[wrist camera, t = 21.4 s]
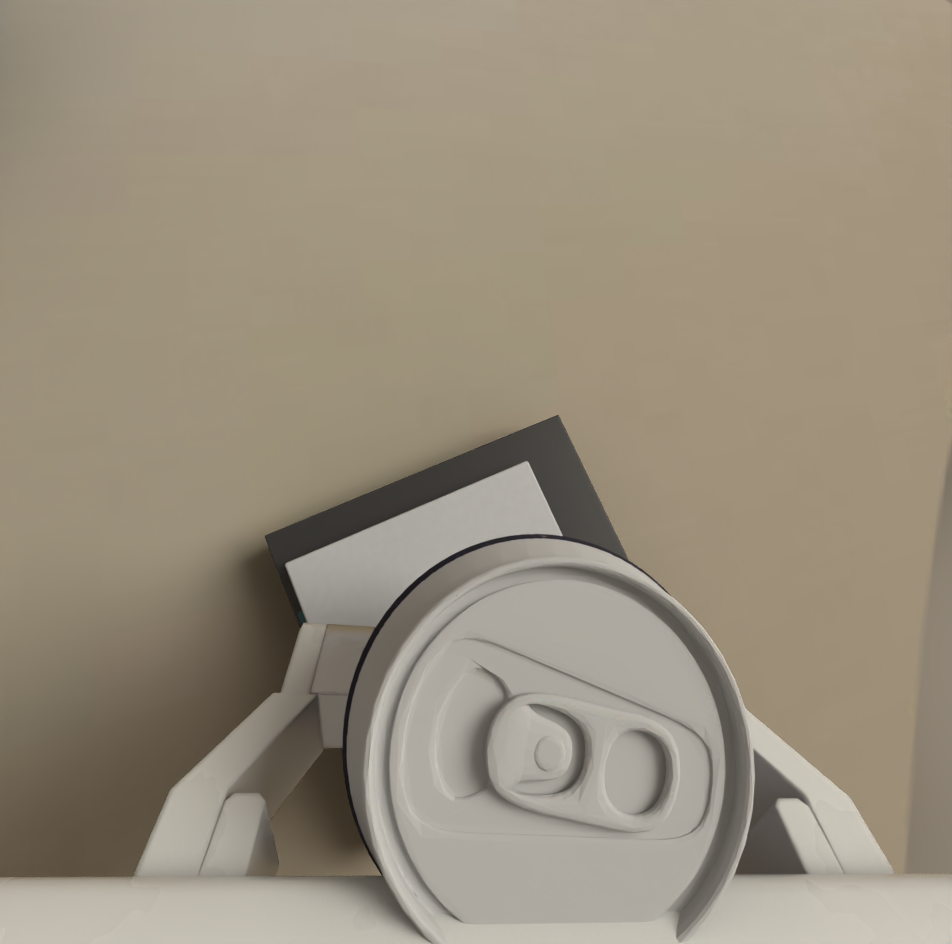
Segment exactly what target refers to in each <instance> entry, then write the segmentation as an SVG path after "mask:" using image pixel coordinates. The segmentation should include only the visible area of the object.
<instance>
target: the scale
mask: <svg viewBox="0 0 952 944" xmlns="http://www.w3.org/2000/svg"><path fill="white" fill-rule="evenodd" d="M521 534H549V535H558V536H565V537H570V538H575V539H579V540H583V541H586V542H589V543H593V544H595V545H598V546H600V547H603V548H605V549H608V550H610V551H612V552H614V553H616V554H618V555H620V556H622V557H623V558H625V559H627V560H628V558H627V555H626V553H625V551H624V549H623V547H622V545H621V543H620V541H619V539H618V537H617V535H616V533H615V531H614V529H613V527H612V524H611V522H610V520H609V518H608V516H607V514H606V512H605V510H604V508H603V506H602V504H601V502H600V500H599V498H598V496H597V493H596V491H595V489H594V487H593V485H592V483H591V481H590V479H589V477H588V475H587V473H586V471H585V469H584V467H583V465H582V462H581V460H580V458H579V456H578V454H577V452H576V450H575V448H574V446H573V444H572V442H571V440H570V438H569V436H568V434H567V431H566V429H565V427H564V425H563V423H562V421H561V419H560V417H559V415H556V416H554V417H552V418H549V419H547V420H544V421H542V422H539V423H537V424H535V425H532V426H530V427H527V428H525V429H522V430H520V431H518V432H515V433H513V434H510V435H508V436H506V437H503V438H501V439H498V440H496V441H493V442H491V443H489V444H486V445H484V446H481V447H479V448H476V449H474V450H472V451H469V452H467V453H464V454H462V455H459V456H457V457H455V458H452V459H450V460H447V461H445V462H443V463H440V464H438V465H435V466H433V467H430V468H428V469H426V470H423V471H421V472H418V473H416V474H413V475H411V476H409V477H406V478H404V479H401V480H399V481H396V482H394V483H392V484H389V485H387V486H384V487H382V488H380V489H377V490H375V491H372V492H370V493H367V494H365V495H363V496H360V497H358V498H355V499H353V500H350V501H348V502H346V503H343V504H341V505H338V506H336V507H333V508H331V509H329V510H326V511H324V512H321V513H319V514H317V515H314V516H312V517H309V518H307V519H304V520H302V521H300V522H297V523H295V524H292V525H290V526H287V527H285V528H283V529H280V530H278V531H275V532H273V533H270V534H268V535H266V536H265V538H266V541H267V544H268V546H269V549H270V551H271V554H272V557H273V559H274V562H275V565H276V567H277V570H278V572H279V575H280V578H281V580H282V583H283V586H284V588H285V591H286V593H287V596H288V599H289V601H290V604H291V607H292V609H293V612H294V614H295V617H296V620H297V622H298V625H299V628H301V627H302V625H303V623H319V624H338V625H353V626H368V627H376V626H377V624H378V623H379V621H380V620H381V619H382V617H383V616H384V614H385V613H386V611H387V610H388V609H389V608H390V606H391V605H392V604H393V603H394V601H395V600H396V599H397V598H398V597H399V596H400V595H401V594H402V593H403V592H404V590H405V589H406V588H407V587H408V586H410V585H411V584H412V583H413V582H414V581H415V580H416V579H417V578H418V577H420V576H421V575H422V574H424V573H425V572H426V571H427V570H429V569H430V568H431V567H433V566H434V565H436V564H437V563H439V562H440V561H442V560H444V559H446V558H447V557H449V556H451V555H453V554H455V553H457V552H459V551H461V550H463V549H465V548H468V547H470V546H473V545H476V544H478V543H481V542H485V541H488V540H492V539H495V538H501V537H506V536H512V535H521Z"/></svg>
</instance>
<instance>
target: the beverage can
mask: <svg viewBox="0 0 952 944" xmlns="http://www.w3.org/2000/svg"><path fill="white" fill-rule="evenodd" d="M342 754H343V769H344V777H345V784H346V790H347V794H348V799H349V804H350V807H351V810H352V814H353V817H354V821H355V823H356V826H357V828H358V831H359V834H360V836H361V839H362V841H363V843H364V845H365V847H366V849H367V851H368V853H369V855H370V857H371V858H372V860H373V862H374V863H375V865H376V867H377V868H378V870H379V871H380V873H381V874H382V876H384V879H385V881H386V883H387V884H388V886H389V888H390V890H391V891H392V893H393V895H394V897H395V898H396V900H397V902H398V903H399V905H400V907H401V908H402V910H403V911H404V913H405V914H406V915H407V916H408V917H409V919H410V920H411V921H412V922H413V924H414V925H415V926H416V927H417V928H418V930H419V931H420V932H421V933H422V934H423V936H424V937H425V938H426V939H427V940H428V941H429V942H431V943H432V944H446V943H447V942H446V940H445V938H444V935H443V932H442V931H441V929H440V927H439V926H438V924H437V922H436V920H435V919H434V917H433V915H436V914H453V915H454V916H455V917H456V918H457V919H458V920H460V921H461V922H462V923H465V924H546V923H622V922H650V921H654V920H656V919H657V918H658V917H659V916H661V915H662V914H663V913H664V912H665V911H676V912H680V915H679V921H678V925H677V929H676V939H677V940H678V941H679V942H680V943H683V942H687V941H688V940H689V939H690V938H692V937H693V936H694V935H695V934H696V933H697V932H698V930H699V929H700V928H701V926H702V925H703V924H704V922H705V921H706V920H707V919H708V917H709V916H710V915H711V913H712V912H713V911H714V909H715V908H716V907H717V905H718V904H719V902H720V900H721V898H722V896H723V895H724V893H725V891H726V889H727V887H728V885H729V884H730V882H731V880H732V878H733V876H734V874H735V871H736V868H737V866H738V863H739V860H740V857H741V855H742V852H743V849H744V847H745V844H746V839H747V834H748V830H749V825H750V820H751V816H752V811H753V798H754V784H755V770H754V754H753V742H752V737H751V732H750V727H749V722H748V717H747V712H746V710H745V707H744V704H743V701H742V698H741V695H740V692H739V689H738V686H737V684H736V681H735V679H734V677H733V675H732V673H731V671H730V669H729V667H728V665H727V663H726V661H725V659H724V657H723V655H722V654H721V652H720V651H719V649H718V648H717V646H716V645H715V644H714V642H713V641H712V639H711V638H710V636H709V635H708V634H707V632H706V631H705V629H704V628H703V627H702V626H701V625H700V624H699V623H698V622H697V620H696V619H695V618H694V617H693V616H692V615H691V614H690V613H689V612H688V611H687V610H686V609H685V608H684V607H683V606H682V605H681V604H680V603H679V602H677V601H676V600H675V599H674V598H673V597H672V596H671V595H670V594H669V593H668V592H667V591H666V590H665V589H664V588H663V587H662V586H661V585H660V584H659V583H658V582H657V581H655V580H654V579H653V578H652V577H651V576H650V575H648V574H647V573H646V572H644V571H643V570H642V569H641V568H639V567H638V566H636V565H635V564H633V563H632V562H630V561H629V560H627V559H625V558H623V557H622V556H620V555H618V554H616V553H614V552H612V551H610V550H608V549H605V548H603V547H600V546H598V545H595V544H593V543H589V542H586V541H583V540H579V539H575V538H570V537H565V536H558V535H549V534H521V535H512V536H506V537H501V538H495V539H492V540H488V541H485V542H481V543H478V544H476V545H473V546H470V547H468V548H465V549H463V550H461V551H459V552H457V553H455V554H453V555H451V556H449V557H447V558H446V559H444V560H442V561H440V562H439V563H437V564H436V565H434V566H433V567H431V568H430V569H429V570H427V571H426V572H425V573H424V574H422V575H421V576H420V577H418V578H417V579H416V580H415V581H414V582H413V583H412V584H411V585H410V586H408V587H407V588H406V589H405V590H404V592H403V593H402V594H401V595H400V596H399V597H398V598H397V599H396V600H395V601H394V603H393V604H392V605H391V606H390V608H389V609H388V610H387V611H386V613H385V614H384V616H383V617H382V619H381V620H380V621H379V623H378V624H377V626H376V628H375V629H374V631H373V633H372V635H371V636H370V638H369V640H368V642H367V644H366V646H365V648H364V650H363V652H362V654H361V657H360V659H359V662H358V664H357V667H356V670H355V673H354V676H353V679H352V682H351V686H350V690H349V694H348V698H347V703H346V709H345V716H344V725H343V747H342Z"/></svg>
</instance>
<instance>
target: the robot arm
mask: <svg viewBox="0 0 952 944" xmlns="http://www.w3.org/2000/svg"><path fill="white" fill-rule="evenodd" d="M375 628H376V627H368V626H353V625H338V624H319V623H303V625H302V627H301V628H300V630H299V634H298V637H297V640H296V644H295V647H294V650H293V653H292V657H291V660H290V663H289V667H288V670H287V673H286V676H285V680H284V683H283V686H282V690H281V693H272V694H271V695H270V696H269V697H268V698H267V699H266V700H265V701H264V702H263V703H262V704H261V705H260V706H259V707H258V708H256V709H255V710H254V711H253V712H252V713H251V714H250V715H249V716H248V717H247V718H246V719H245V720H244V721H243V722H242V723H240V724H239V725H238V726H237V727H236V728H235V729H234V730H233V731H232V732H231V733H230V734H229V735H228V736H227V737H226V738H225V739H223V740H222V741H221V742H220V743H219V744H218V745H217V746H216V747H215V748H214V749H213V750H212V751H211V752H210V753H209V754H208V755H206V756H205V757H204V758H203V759H202V760H201V761H200V762H199V763H198V764H197V765H196V766H195V767H194V768H193V769H192V770H190V771H189V772H188V773H187V774H186V775H185V776H184V777H183V778H182V779H181V780H180V781H179V782H178V783H177V784H176V785H175V786H173V787H172V788H171V789H170V792H169V794H168V796H167V799H166V801H165V803H164V806H163V808H162V810H161V813H160V815H159V817H158V820H157V822H156V824H155V827H154V829H153V831H152V834H151V836H150V838H149V840H148V843H147V845H146V847H145V850H144V852H143V854H142V857H141V859H140V861H139V864H138V866H137V868H136V871H135V873H134V875H133V877H0V944H432V943H431V942H429V941H428V940H427V939H426V938H425V937H424V936H423V934H422V933H421V932H420V931H419V930H418V928H417V927H416V926H415V925H414V924H413V922H412V921H411V920H410V919H409V917H408V916H407V915H406V914H405V913H404V911H403V910H402V908H401V907H400V905H399V903H398V902H397V900H396V898H395V897H394V895H393V893H392V891H391V890H390V888H389V886H388V884H387V883H386V881H385V879H384V876H276V874H277V870H278V865H279V860H278V856H277V851H276V847H275V842H274V838H273V833H272V829H271V824H270V819H271V818H272V817H273V815H274V814H275V813H276V811H277V810H278V809H279V808H280V806H281V805H282V804H283V802H284V801H285V800H286V798H287V797H288V796H289V794H290V793H291V792H292V791H293V789H294V788H295V787H296V785H297V784H298V783H299V781H300V780H301V779H302V777H303V776H304V775H305V774H306V772H307V771H308V770H309V768H310V767H311V766H312V764H313V763H314V762H315V761H316V759H317V758H318V757H319V755H320V754H321V753H322V751H323V748H342V747H343V725H344V716H345V709H346V703H347V698H348V694H349V690H350V686H351V682H352V679H353V676H354V673H355V670H356V667H357V664H358V662H359V659H360V657H361V654H362V652H363V650H364V648H365V646H366V644H367V642H368V640H369V638H370V636H371V635H372V633H373V631H374V629H375ZM745 710H746V709H745ZM746 712H747V717H748V722H749V727H750V732H751V737H752V742H753V754H754V770H755V784H754V798H753V811H752V816H751V820H750V825H749V830H748V834H747V839H746V844H745V847H744V849H743V852H742V855H741V857H740V860H739V863H738V866H737V868H736V871H735V874H734V876H733V878H732V880H731V882H730V884H729V885H728V887H727V889H726V891H725V893H724V895H723V896H722V898H721V900H720V902H719V904H718V905H717V907H716V908H715V909H714V911H713V912H712V913H711V915H710V916H709V917H708V919H707V920H706V921H705V922H704V924H703V925H702V926H701V928H700V929H699V930H698V932H697V933H696V934H695V935H694V936H693V937H692V938H690V939H689V940H688V941H687V942H683V943H680V942H679V941H678V940H677V939H676V929H677V925H678V921H679V915H680V912H676V911H665V912H664V913H663V914H662V915H661V916H659V917H658V918H657V919H656V920H654V921H650V922H622V923H546V924H465V923H462V922H461V921H460V920H458V919H457V918H456V917H455V916H454V915H453V914H436V915H433V917H434V919H435V920H436V922H437V924H438V926H439V927H440V929H441V931H442V932H443V935H444V938H445V940H446V942H447V943H446V944H952V874H895V872H894V870H893V869H892V867H891V865H890V864H889V862H888V860H887V859H886V857H885V855H884V854H883V852H882V850H881V849H880V847H879V845H878V844H877V842H876V840H875V839H874V837H873V835H872V833H871V832H870V830H869V828H868V827H867V825H866V823H865V822H864V820H863V818H862V817H861V815H860V813H859V812H858V810H857V808H856V807H855V805H854V803H853V802H852V800H851V798H850V797H849V796H848V795H846V794H845V793H844V792H843V791H842V790H841V789H839V788H838V787H837V786H836V785H835V784H834V783H832V782H831V781H830V780H829V779H828V778H826V777H825V776H824V775H823V774H822V773H821V772H819V771H818V770H817V769H816V768H815V767H814V766H812V765H811V764H810V763H809V762H808V761H806V760H805V759H804V758H803V757H802V756H801V755H799V754H798V753H797V752H796V751H795V750H793V749H792V748H791V747H790V746H789V745H788V744H786V743H785V742H784V741H783V740H782V739H781V738H779V737H778V736H777V735H776V734H775V733H773V732H772V731H771V730H770V729H769V728H768V727H766V726H765V725H764V724H763V723H762V722H761V721H759V720H758V719H757V718H756V717H755V716H753V715H752V714H751V713H750V712H749V711H748V710H746Z"/></svg>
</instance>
